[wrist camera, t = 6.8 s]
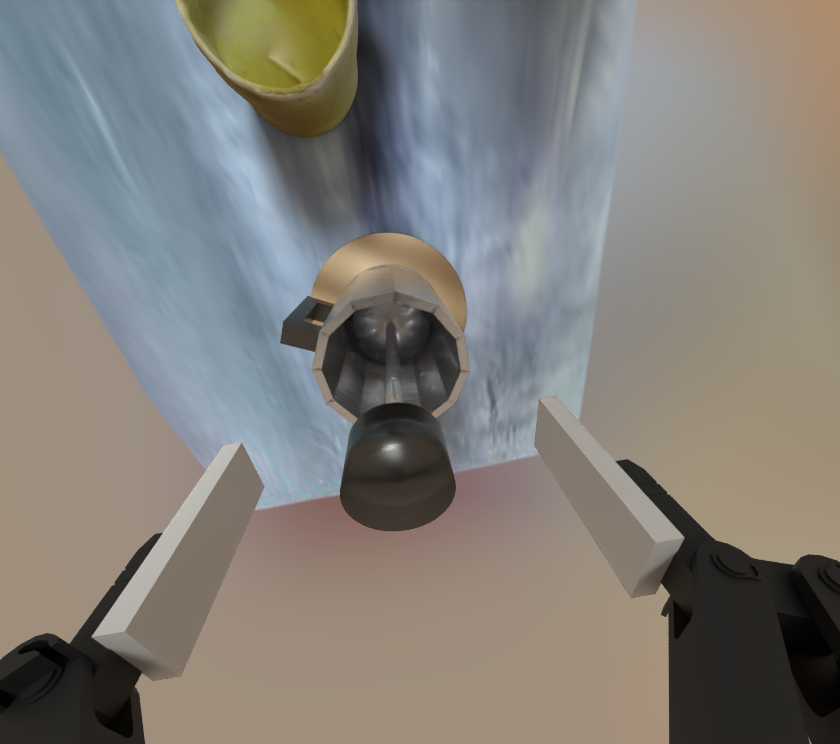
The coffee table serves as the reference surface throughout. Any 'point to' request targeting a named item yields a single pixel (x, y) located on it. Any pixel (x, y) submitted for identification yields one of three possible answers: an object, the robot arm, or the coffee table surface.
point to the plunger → (395, 434)
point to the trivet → (391, 251)
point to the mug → (282, 56)
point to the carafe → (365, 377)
